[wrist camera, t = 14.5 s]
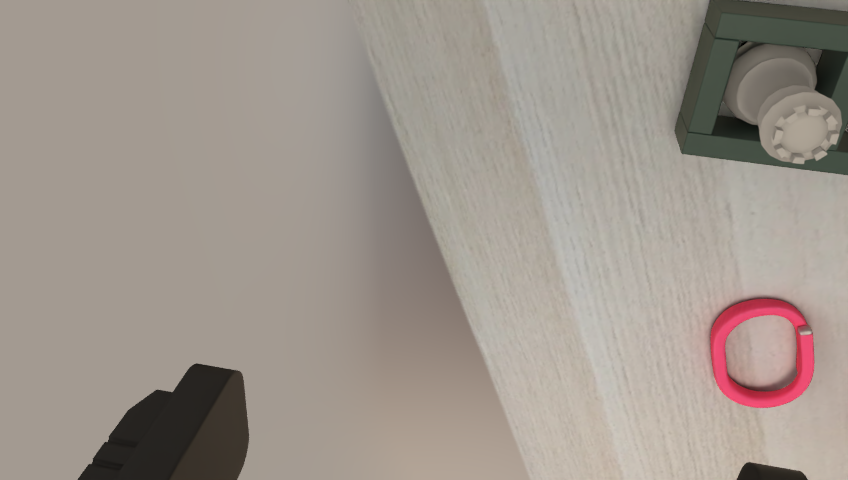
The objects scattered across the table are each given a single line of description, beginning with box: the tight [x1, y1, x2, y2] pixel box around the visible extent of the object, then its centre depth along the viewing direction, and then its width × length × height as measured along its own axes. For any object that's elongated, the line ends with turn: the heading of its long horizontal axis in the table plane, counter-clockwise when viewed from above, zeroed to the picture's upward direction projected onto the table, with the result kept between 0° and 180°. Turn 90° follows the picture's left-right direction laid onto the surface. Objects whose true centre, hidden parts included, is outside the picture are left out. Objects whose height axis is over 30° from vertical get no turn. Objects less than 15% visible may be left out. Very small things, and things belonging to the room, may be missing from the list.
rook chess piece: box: [722, 41, 842, 164], centre depth 33 cm, size 4×4×8 cm
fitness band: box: [710, 299, 814, 408], centre depth 45 cm, size 8×6×2 cm
